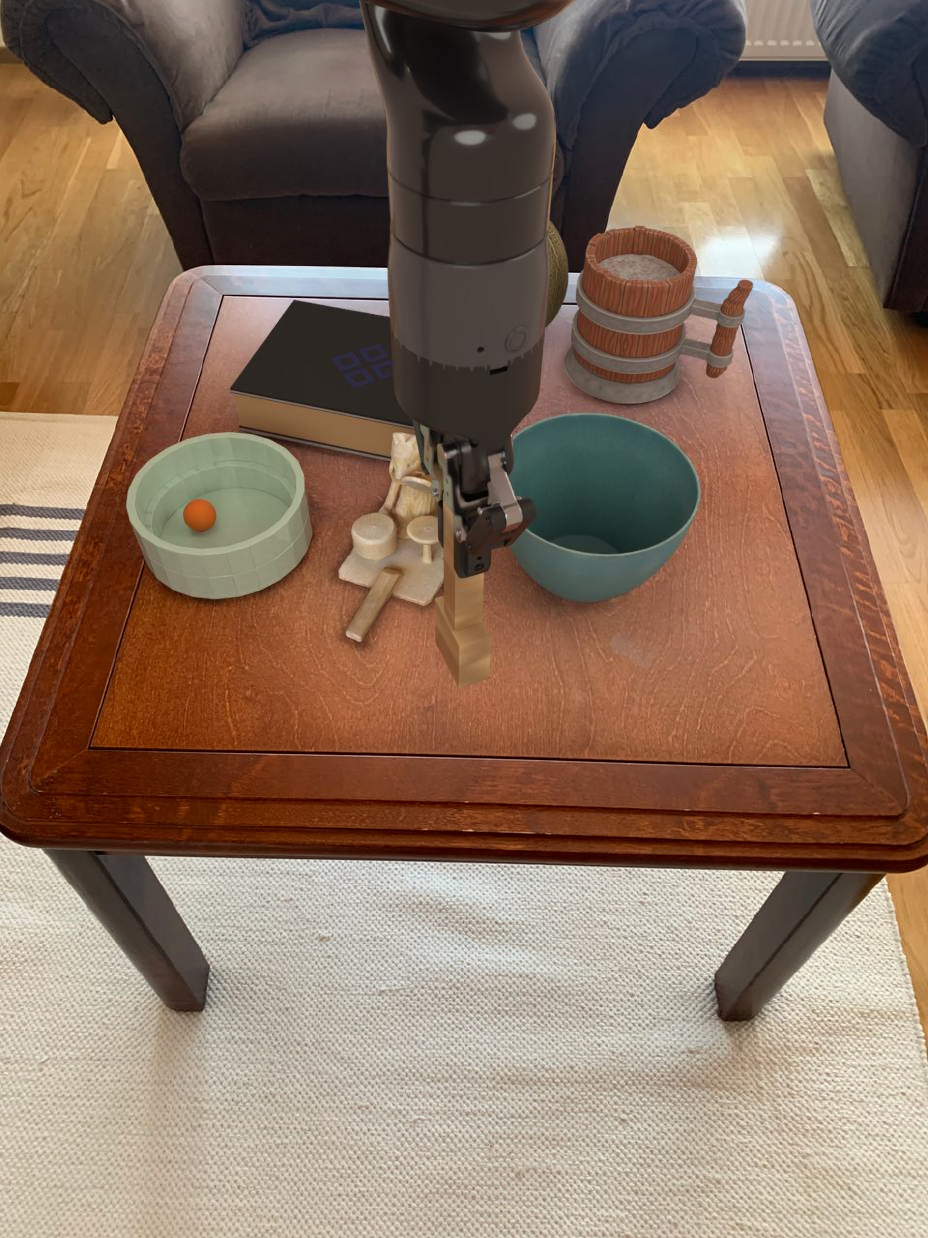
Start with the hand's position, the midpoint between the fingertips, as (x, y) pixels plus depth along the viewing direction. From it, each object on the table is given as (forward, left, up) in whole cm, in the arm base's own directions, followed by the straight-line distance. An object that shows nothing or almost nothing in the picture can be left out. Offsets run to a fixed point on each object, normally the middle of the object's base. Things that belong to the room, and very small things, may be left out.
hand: (464, 556), depth 57 cm
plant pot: (+19, +15, -25) cm, 35 cm away
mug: (+40, +40, -25) cm, 62 cm away
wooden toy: (+3, +23, -25) cm, 34 cm away
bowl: (-12, +32, -25) cm, 42 cm away
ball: (-14, +34, -23) cm, 43 cm away
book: (+8, +46, -25) cm, 53 cm away
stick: (0, 0, -11) cm, 11 cm away
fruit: (+30, +54, -25) cm, 67 cm away
